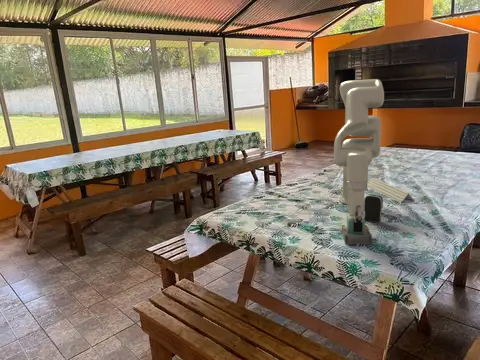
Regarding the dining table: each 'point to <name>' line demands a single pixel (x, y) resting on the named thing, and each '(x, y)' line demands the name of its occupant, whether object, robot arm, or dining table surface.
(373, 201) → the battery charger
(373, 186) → the corner bead
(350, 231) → the block
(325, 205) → the dining table surface
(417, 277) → the dining table surface
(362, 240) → the tray
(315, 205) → the dining table surface
